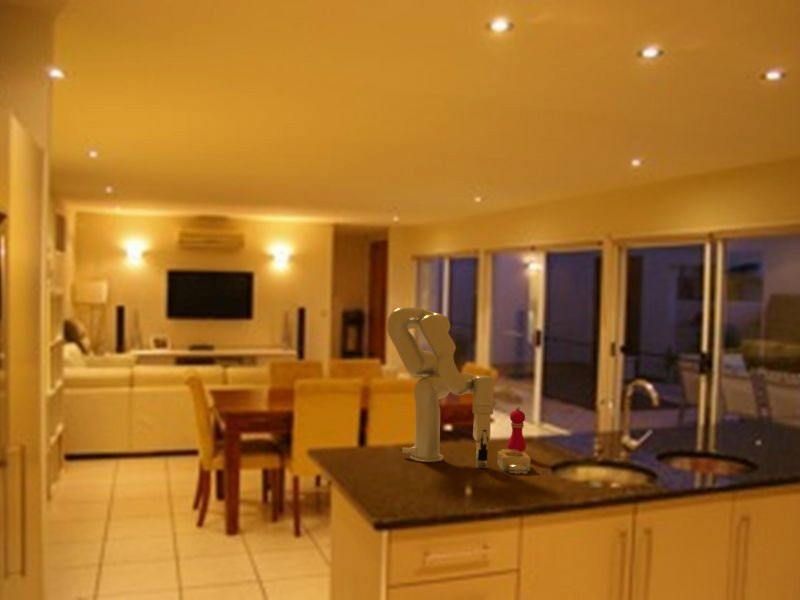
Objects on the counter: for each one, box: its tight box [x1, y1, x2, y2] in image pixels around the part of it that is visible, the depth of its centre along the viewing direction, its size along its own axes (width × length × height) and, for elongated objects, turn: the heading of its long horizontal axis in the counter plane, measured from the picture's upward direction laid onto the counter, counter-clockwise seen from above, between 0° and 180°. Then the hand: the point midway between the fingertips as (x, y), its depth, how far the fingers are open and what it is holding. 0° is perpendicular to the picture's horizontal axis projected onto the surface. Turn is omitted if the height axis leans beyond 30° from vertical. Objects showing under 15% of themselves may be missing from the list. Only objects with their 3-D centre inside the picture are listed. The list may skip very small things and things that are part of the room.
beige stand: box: [497, 448, 531, 475], centre depth 253 cm, size 10×17×5 cm, turn 3°
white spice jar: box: [475, 438, 488, 469], centre depth 253 cm, size 5×5×12 cm
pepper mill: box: [507, 406, 527, 452], centre depth 271 cm, size 7×7×20 cm
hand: (481, 458), depth 253 cm, fingers open, 4 cm apart
